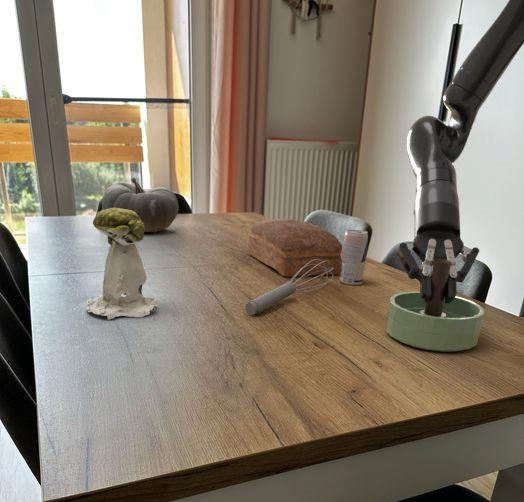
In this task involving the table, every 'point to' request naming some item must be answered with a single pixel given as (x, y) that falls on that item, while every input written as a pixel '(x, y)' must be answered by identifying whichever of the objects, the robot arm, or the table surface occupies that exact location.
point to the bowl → (434, 323)
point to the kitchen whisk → (279, 293)
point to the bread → (294, 247)
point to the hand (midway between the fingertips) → (438, 300)
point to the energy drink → (354, 257)
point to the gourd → (143, 204)
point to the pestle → (437, 288)
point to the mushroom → (121, 266)
